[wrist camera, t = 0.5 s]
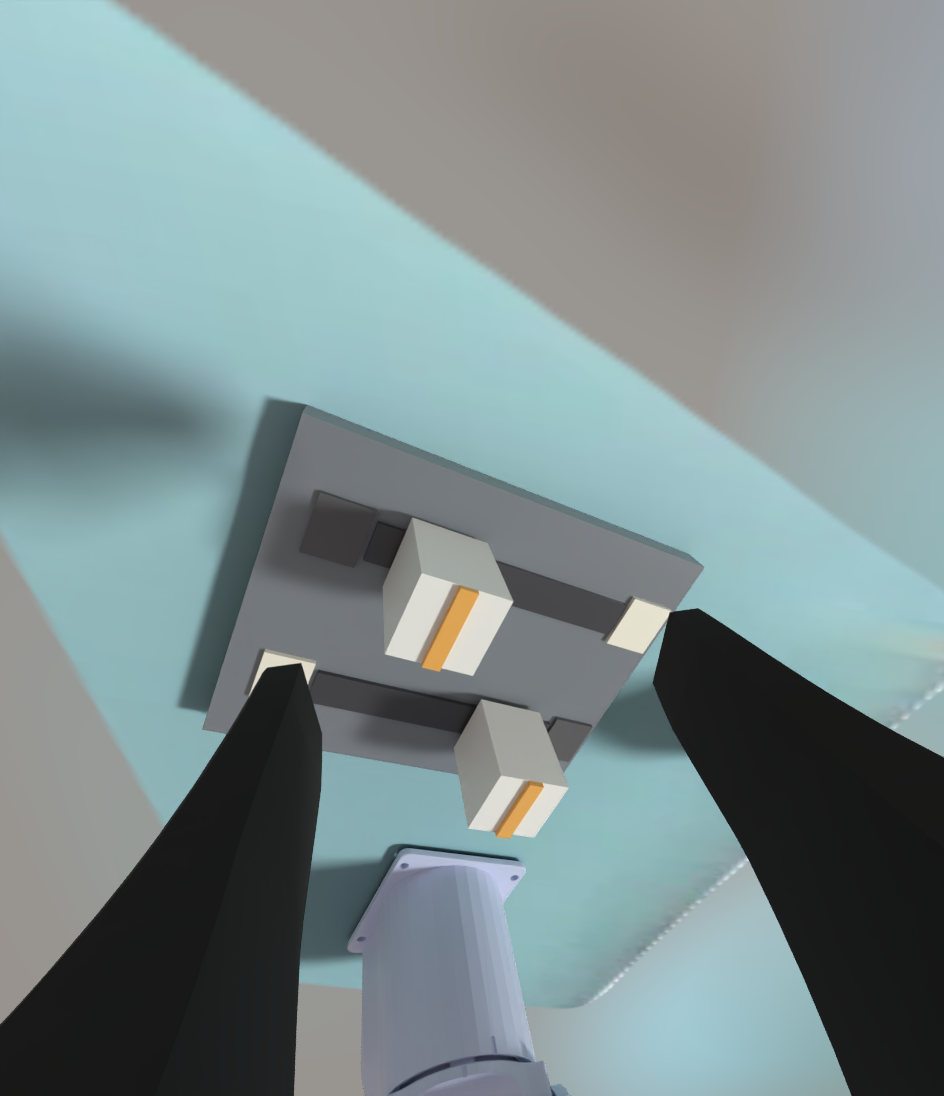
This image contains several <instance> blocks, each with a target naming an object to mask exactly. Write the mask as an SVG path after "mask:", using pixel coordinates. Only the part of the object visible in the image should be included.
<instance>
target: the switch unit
mask: <svg viewBox="0 0 944 1096" xmlns="http://www.w3.org/2000/svg"><path fill="white" fill-rule="evenodd" d="M412 517H413V518H416V519H419V520H422V521H424V522H427V523H430V524H433V525H436V526H439V527H442V528H445V529H448V530H451V531H454V532H457V533H459V534H462V535H465V536H468V537H471V538H474V539H477V540H480V541H483V542H486V543H488V545H489V547H490V549H491V552H492V554H493V556H494V558H495V561H496V563H497V565H498V567H499V570H500V572H501V574H502V576H503V579H504V581H505V583H506V585H507V588H508V590H509V592H510V595H511V597H512V599H513V603H512V605H511V607H510V609H509V611H508V612H507V614H506V616H505V618H504V620H503V622H502V623H501V625H500V627H499V629H498V631H497V633H496V634H495V636H494V638H493V640H492V642H491V644H490V645H489V647H488V649H487V651H486V653H485V655H484V656H483V658H482V660H481V662H480V664H479V666H478V667H477V669H476V671H475V673H474V675H473V676H471V675H467V674H463V673H459V672H455V671H451V670H447V669H443V668H441V670H440V672H439V671H434V670H430V669H426V668H422V665H421V663H418V662H414V661H410V660H406V659H402V658H398V657H394V656H390V655H386V654H385V647H384V616H383V585H384V582H385V580H386V578H387V575H388V573H389V571H390V568H391V566H392V564H393V561H394V559H395V557H396V554H397V552H398V550H399V547H400V545H401V543H402V540H403V538H404V536H405V533H406V531H407V529H408V526H409V524H410V522H411V519H412ZM703 569H704V567H703V566H702V565H701V564H700V563H699V562H698V561H696V560H695V559H694V558H693V557H692V556H691V555H689V554H687V553H685V552H682V551H679V550H677V549H674V548H672V547H669V546H667V545H664V544H662V543H659V542H656V541H654V540H651V539H649V538H646V537H644V536H641V535H638V534H636V533H633V532H631V531H628V530H626V529H623V528H621V527H618V526H615V525H613V524H610V523H608V522H605V521H603V520H600V519H598V518H595V517H592V516H590V515H587V514H585V513H582V512H580V511H577V510H575V509H572V508H569V507H567V506H564V505H562V504H559V503H557V502H554V501H552V500H549V499H546V498H544V497H541V496H539V495H536V494H534V493H531V492H528V491H526V490H523V489H521V488H518V487H516V486H513V485H511V484H508V483H505V482H503V481H500V480H498V479H495V478H493V477H490V476H488V475H485V474H482V473H480V472H477V471H475V470H472V469H470V468H467V467H465V466H462V465H459V464H457V463H454V462H452V461H449V460H447V459H444V458H442V457H439V456H436V455H434V454H431V453H429V452H426V451H424V450H421V449H418V448H416V447H413V446H411V445H408V444H406V443H403V442H401V441H398V440H395V439H393V438H390V437H388V436H385V435H383V434H380V433H378V432H375V431H372V430H370V429H367V428H365V427H362V426H360V425H357V424H355V423H352V422H349V421H347V420H344V419H342V418H339V417H337V416H334V415H332V414H329V413H326V412H324V411H321V410H319V409H316V408H314V407H311V406H308V405H306V407H305V409H304V410H303V412H302V415H301V418H300V422H299V425H298V428H297V431H296V434H295V437H294V441H293V444H292V447H291V450H290V453H289V456H288V459H287V463H286V466H285V469H284V472H283V475H282V478H281V482H280V485H279V488H278V491H277V494H276V497H275V501H274V504H273V507H272V510H271V513H270V516H269V520H268V523H267V526H266V529H265V532H264V535H263V539H262V542H261V545H260V548H259V551H258V554H257V558H256V561H255V564H254V567H253V570H252V573H251V576H250V580H249V583H248V586H247V589H246V592H245V595H244V599H243V602H242V605H241V608H240V611H239V614H238V618H237V621H236V624H235V627H234V630H233V633H232V637H231V640H230V643H229V646H228V649H227V652H226V656H225V659H224V662H223V665H222V668H221V671H220V675H219V678H218V681H217V684H216V687H215V690H214V693H213V697H212V700H211V703H210V706H209V709H208V712H207V716H206V719H205V722H204V725H203V728H202V730H208V731H213V732H219V733H225V734H227V733H228V731H229V729H230V728H231V726H232V724H233V723H234V721H235V719H236V718H237V716H238V715H239V713H240V711H241V709H242V708H243V706H244V704H245V703H246V701H247V699H248V697H249V696H250V694H251V692H252V690H253V689H254V687H255V685H256V683H257V681H258V680H259V678H260V676H261V674H262V673H263V672H264V670H265V669H266V668H267V667H274V666H282V665H289V664H296V663H302V667H303V670H304V674H305V677H306V680H307V684H308V687H309V691H310V694H311V697H312V701H313V704H314V707H315V711H316V714H317V718H318V721H319V724H320V728H321V731H322V751H327V752H333V753H339V754H344V755H350V756H356V757H361V758H367V759H373V760H378V761H384V762H390V763H396V764H401V765H407V766H413V767H418V768H424V769H430V770H435V771H441V772H447V773H453V774H458V768H457V762H456V757H455V751H454V747H455V745H456V743H457V741H458V740H459V738H460V736H461V734H462V733H463V731H464V729H465V727H466V725H467V724H468V722H469V720H470V718H471V717H472V715H473V713H474V711H475V709H476V708H477V706H478V704H479V702H480V701H481V699H482V700H487V701H491V702H495V703H500V704H504V705H508V706H513V707H517V708H521V709H525V710H530V711H534V712H538V713H540V715H541V717H542V720H543V722H544V725H545V727H546V730H547V733H548V735H549V738H550V740H551V743H552V745H553V748H554V751H555V753H556V756H557V758H558V761H559V764H560V766H561V769H562V771H563V773H564V771H565V770H566V769H567V767H568V766H569V764H570V763H571V761H572V760H573V758H574V757H575V755H576V754H577V753H578V751H579V750H580V748H581V747H582V745H583V744H584V742H585V741H586V739H587V738H588V736H589V735H590V734H591V732H592V731H593V729H594V728H595V726H596V725H597V723H598V722H599V720H600V719H601V718H602V716H603V715H604V713H605V712H606V710H607V709H608V707H609V706H610V704H611V703H612V702H613V700H614V699H615V697H616V696H617V694H618V693H619V691H620V690H621V688H622V687H623V685H624V684H625V683H626V681H627V680H628V678H629V677H630V675H631V674H632V672H633V671H634V669H635V668H636V667H637V665H638V664H639V662H640V661H641V659H642V658H643V656H644V655H645V653H646V652H647V650H648V649H649V648H650V646H651V645H652V643H653V642H654V640H655V639H656V637H657V636H658V634H659V633H660V632H661V630H662V629H663V627H664V626H665V624H666V623H667V621H668V617H669V612H674V611H675V610H676V608H677V607H678V605H679V604H680V602H681V601H682V599H683V598H684V597H685V595H686V594H687V592H688V591H689V589H690V588H691V586H692V585H693V583H694V582H695V580H696V579H697V578H698V576H699V575H700V573H701V572H702V570H703ZM458 775H459V774H458Z"/></svg>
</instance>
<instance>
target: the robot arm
mask: <svg viewBox="0 0 944 1096" xmlns="http://www.w3.org/2000/svg"><path fill="white" fill-rule="evenodd" d="M653 685H654V687H655V690H656V692H657V695H658V697H659V699H660V702H661V704H662V707H663V709H664V711H665V713H666V716H667V718H668V720H669V722H670V724H671V727H672V729H673V731H674V732H675V734H676V736H677V738H678V739H679V741H680V743H681V745H682V746H683V748H684V750H685V752H686V753H687V755H688V757H689V758H690V760H691V762H692V763H693V765H694V767H695V769H696V770H697V772H698V774H699V775H700V777H701V779H702V780H703V782H704V784H705V785H706V787H707V789H708V790H709V792H710V794H711V795H712V797H713V799H714V800H715V802H716V804H717V806H718V807H719V809H720V811H721V812H722V814H723V816H724V817H725V819H726V821H727V822H728V824H729V826H730V827H731V829H732V831H733V832H734V834H735V836H736V838H737V839H738V841H739V843H740V845H741V847H742V849H743V850H744V852H745V854H746V856H747V858H748V860H749V861H750V863H751V866H752V868H753V869H754V872H755V874H756V876H757V878H758V880H759V882H760V884H761V886H762V888H763V891H764V893H765V895H766V897H767V899H768V900H769V903H770V905H771V907H772V909H773V911H774V913H775V916H776V918H777V920H778V922H779V924H780V926H781V928H782V931H783V933H784V935H785V938H786V940H787V942H788V944H789V947H790V949H791V951H792V953H793V955H794V958H795V960H796V962H797V964H798V966H799V968H800V971H801V973H802V975H803V978H804V980H805V982H806V984H807V987H808V989H809V992H810V994H811V997H812V999H813V1001H814V1003H815V1006H816V1009H817V1011H818V1013H819V1016H820V1018H821V1020H822V1023H823V1025H824V1028H825V1030H826V1032H827V1035H828V1037H829V1040H830V1042H831V1044H832V1047H833V1049H834V1052H835V1054H836V1057H837V1059H838V1062H839V1065H840V1067H841V1070H842V1072H843V1075H844V1077H845V1080H846V1083H847V1085H848V1088H849V1090H850V1093H851V1095H852V1096H944V757H942V756H940V755H938V754H936V753H934V752H932V751H930V750H929V749H927V748H925V747H923V746H921V745H919V744H917V743H915V742H913V741H911V740H909V739H907V738H905V737H904V736H902V735H900V734H898V733H896V732H894V731H893V730H891V729H889V728H887V727H885V726H884V725H882V724H880V723H878V722H877V721H875V720H873V719H871V718H870V717H868V716H866V715H865V714H863V713H861V712H860V711H858V710H856V709H854V708H853V707H851V706H849V705H848V704H846V703H844V702H843V701H841V700H839V699H837V698H836V697H834V696H833V695H831V694H829V693H828V692H826V691H824V690H823V689H821V688H820V687H818V686H816V685H815V684H813V683H812V682H810V681H808V680H807V679H805V678H804V677H802V676H801V675H799V674H798V673H796V672H794V671H793V670H791V669H790V668H788V667H787V666H785V665H784V664H782V663H781V662H779V661H778V660H776V659H775V658H773V657H772V656H770V655H768V654H767V653H765V652H764V651H762V650H761V649H759V648H758V647H756V646H755V645H753V644H752V643H751V642H749V641H748V640H746V639H745V638H743V637H742V636H740V635H739V634H737V633H736V632H734V631H733V630H731V629H730V628H728V627H727V626H725V625H724V624H722V623H720V622H719V621H717V620H716V619H714V618H713V617H711V616H710V615H708V614H706V613H705V612H703V611H702V610H700V609H698V608H697V609H690V610H682V611H675V612H669V617H668V621H667V625H666V629H665V633H664V638H663V642H662V646H661V650H660V654H659V659H658V663H657V667H656V671H655V675H654V680H653ZM321 774H322V731H321V728H320V724H319V721H318V718H317V714H316V711H315V707H314V704H313V701H312V697H311V694H310V691H309V687H308V684H307V680H306V677H305V674H304V670H303V667H302V663H296V664H289V665H282V666H274V667H267V668H266V669H265V670H264V672H263V673H262V674H261V676H260V678H259V680H258V681H257V683H256V685H255V687H254V689H253V690H252V692H251V694H250V696H249V697H248V699H247V701H246V703H245V704H244V706H243V708H242V709H241V711H240V713H239V715H238V716H237V718H236V719H235V721H234V723H233V724H232V726H231V728H230V729H229V731H228V733H227V734H226V736H225V738H224V739H223V741H222V742H221V744H220V745H219V747H218V749H217V750H216V752H215V753H214V755H213V756H212V758H211V760H210V761H209V763H208V764H207V766H206V767H205V769H204V770H203V772H202V774H201V775H200V777H199V778H198V780H197V781H196V783H195V784H194V786H193V787H192V789H191V790H190V792H189V793H188V794H187V796H186V797H185V799H184V800H183V801H182V803H181V804H180V806H179V807H178V809H177V810H176V811H175V813H174V814H173V816H172V817H171V818H170V820H169V821H168V823H167V824H166V826H165V827H164V828H163V830H162V832H161V833H160V834H159V836H158V837H157V838H156V840H155V841H154V843H153V844H152V845H151V846H150V848H149V849H148V850H147V852H146V853H145V854H144V856H143V857H142V858H141V860H140V861H139V862H138V864H137V865H136V866H135V867H134V869H133V870H132V872H131V873H130V874H129V875H128V876H127V878H126V879H125V880H124V882H123V883H122V884H121V885H120V887H119V888H118V889H117V890H116V892H115V893H114V894H113V895H112V896H111V898H110V899H109V900H108V901H107V903H106V904H105V906H104V907H103V908H102V909H101V910H100V912H99V913H98V914H97V915H96V916H95V917H94V919H93V920H92V921H91V922H90V923H89V924H88V926H87V927H86V928H85V929H84V930H83V932H82V933H81V934H80V935H79V936H78V937H77V939H76V940H75V941H74V942H73V943H72V945H71V946H70V947H69V948H68V949H67V950H66V951H65V953H64V954H63V955H62V956H61V957H60V959H59V960H58V961H57V962H56V963H55V964H54V966H53V967H52V968H51V969H50V970H49V971H48V972H47V974H46V975H45V976H44V977H43V978H42V979H41V980H40V982H39V983H38V984H37V985H36V986H35V987H34V988H33V990H31V992H30V993H29V994H28V995H27V996H26V997H25V998H24V999H23V1001H22V1002H21V1003H20V1004H19V1005H18V1006H17V1007H16V1008H15V1009H14V1011H12V1013H11V1014H10V1015H9V1016H8V1017H7V1018H6V1019H5V1020H4V1021H3V1022H2V1023H1V1024H0V1096H294V1077H295V1050H296V1025H297V1005H298V985H299V965H300V949H301V939H302V929H303V919H304V912H305V905H306V897H307V890H308V883H309V875H310V868H311V861H312V853H313V846H314V839H315V831H316V824H317V816H318V808H319V801H320V793H321ZM525 872H526V868H525V865H524V863H523V862H520V861H512V860H504V859H496V858H487V857H479V856H471V855H462V854H454V853H446V852H438V851H429V850H421V849H413V848H406V849H403V850H401V851H400V852H399V853H398V855H397V857H396V858H395V860H394V862H393V864H392V865H391V867H390V869H389V871H388V873H387V874H386V876H385V878H384V880H383V881H382V883H381V885H380V887H379V888H378V890H377V892H376V894H375V895H374V897H373V899H372V901H371V902H370V904H369V906H368V908H367V909H366V911H365V913H364V915H363V917H362V918H361V920H360V922H359V924H358V925H357V927H356V929H355V931H354V932H353V934H352V936H351V938H350V939H349V941H348V951H349V952H352V953H363V969H362V1037H361V1075H362V1084H363V1089H364V1093H365V1096H571V1095H570V1094H569V1093H568V1092H567V1090H566V1089H565V1088H564V1087H563V1086H562V1085H561V1084H557V1085H554V1086H550V1083H549V1079H548V1074H547V1070H546V1065H545V1062H544V1061H538V1062H536V1059H535V1054H534V1049H533V1044H532V1039H531V1035H530V1030H529V1025H528V1020H527V1016H526V1011H525V1006H524V1001H523V997H522V992H521V987H520V982H519V977H518V973H517V968H516V963H515V958H514V954H513V949H512V944H511V939H510V935H509V930H508V925H507V920H506V916H505V911H504V906H503V903H504V901H505V900H506V899H507V897H508V896H509V895H510V893H511V892H512V890H513V889H514V888H515V886H516V885H517V883H518V882H519V881H520V879H521V878H522V876H523V875H524V874H525Z"/></svg>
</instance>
